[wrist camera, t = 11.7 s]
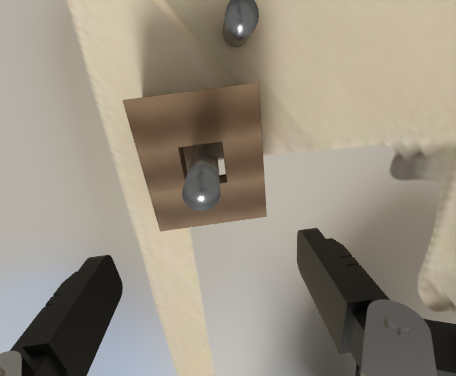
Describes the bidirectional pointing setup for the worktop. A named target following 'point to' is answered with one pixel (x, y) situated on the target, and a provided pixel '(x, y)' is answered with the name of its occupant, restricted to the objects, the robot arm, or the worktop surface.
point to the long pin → (202, 179)
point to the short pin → (240, 21)
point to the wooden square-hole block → (195, 135)
